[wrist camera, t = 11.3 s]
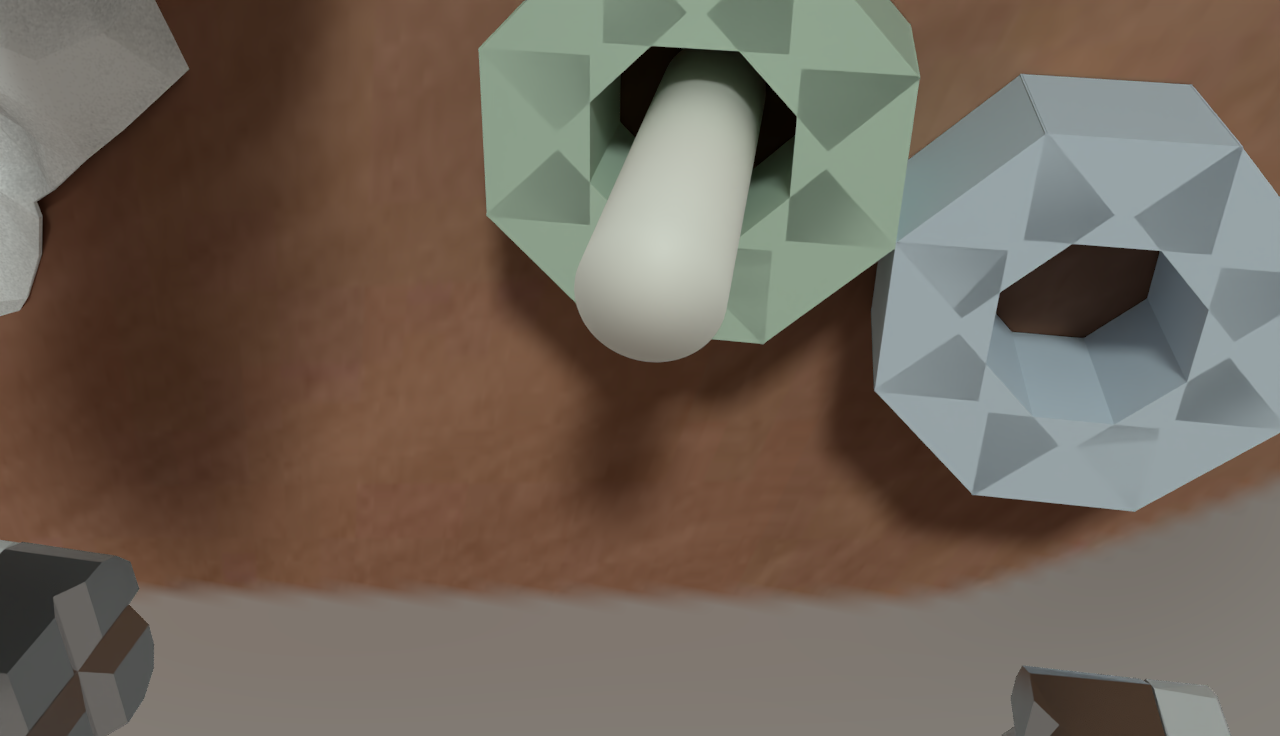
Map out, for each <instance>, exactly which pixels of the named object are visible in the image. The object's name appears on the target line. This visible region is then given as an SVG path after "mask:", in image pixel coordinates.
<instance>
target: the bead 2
mask: <svg viewBox="0 0 1280 736" xmlns="http://www.w3.org/2000/svg"><path fill="white" fill-rule="evenodd" d="M1072 244H1080V245H1092V246H1105V247H1118V248H1131V249H1143V250H1156V251H1160V252H1159V256H1158V260H1157V263H1156V267H1155V271H1154V275H1153V278H1152V282H1151V286H1150V289H1149V293H1148V297H1147V299H1145V300H1144V301H1142V302H1140V303H1139V304H1137V305H1136V306H1134V307H1132V308H1131V309H1129V310H1128V311H1126V312H1124V313H1123V314H1121V315H1120V316H1118V317H1117V318H1115V319H1113V320H1112V321H1110V322H1109V323H1107V324H1105V325H1104V326H1102V327H1101V328H1099V329H1097V330H1096V331H1094V332H1093V333H1091V334H1089V335H1088V336H1086V337H1085V338H1077V337H1065V336H1054V335H1042V334H1031V333H1020V332H1012V331H1011V330H1010V329H1009V328H1008V327H1007V326H1006V325H1005V323H1004V322H1003V321H1002V320H1001V319H1000V318H999V317H998V315H997V314H996V309H997V304H998V299H999V294H1000V292H1002V291H1003V290H1004V289H1006V288H1007V287H1009V286H1010V285H1012V284H1013V283H1015V282H1016V281H1018V280H1019V279H1021V278H1022V277H1024V276H1025V275H1027V274H1028V273H1030V272H1031V271H1033V270H1034V269H1036V268H1037V267H1039V266H1040V265H1042V264H1043V263H1045V262H1046V261H1048V260H1049V259H1051V258H1052V257H1054V256H1055V255H1057V254H1058V253H1060V252H1061V251H1063V250H1064V249H1066V248H1067V247H1069V246H1070V245H1072ZM871 327H872V353H873V378H874V391H875V392H876V393H877V394H878V395H879V396H880V397H881V398H882V399H883V400H884V401H885V402H886V403H887V404H888V405H889V406H890V407H891V409H892V410H893V411H894V412H895V413H896V414H897V415H898V416H899V417H900V418H901V419H902V420H903V421H904V422H905V423H906V424H907V425H908V427H909V428H910V429H911V430H912V431H913V432H914V433H915V434H916V435H917V436H918V437H919V438H920V439H921V440H922V441H923V442H924V444H925V445H926V446H927V447H928V448H929V449H930V450H931V451H932V452H933V453H934V454H935V455H936V456H937V457H938V458H939V459H940V460H941V462H942V463H943V464H944V465H945V466H946V467H947V468H948V469H949V470H950V471H951V472H952V473H953V474H954V475H955V476H956V477H957V479H958V480H959V481H960V482H961V483H962V484H963V485H964V486H965V487H966V488H967V489H968V490H969V491H970V492H971V494H972V495H980V496H990V497H999V498H1009V499H1019V500H1028V501H1038V502H1048V503H1057V504H1067V505H1077V506H1086V507H1096V508H1106V509H1115V510H1125V511H1133V512H1134V511H1135V512H1136V510H1138V509H1140V508H1142V507H1144V506H1146V505H1147V504H1149V503H1151V502H1153V501H1155V500H1157V499H1158V498H1160V497H1162V496H1164V495H1166V494H1168V493H1170V492H1171V491H1173V490H1175V489H1177V488H1179V487H1181V486H1182V485H1184V484H1186V483H1188V482H1190V481H1192V480H1193V479H1195V478H1197V477H1199V476H1201V475H1203V474H1205V473H1206V472H1208V471H1210V470H1212V469H1214V468H1216V467H1217V466H1219V465H1221V464H1223V463H1225V462H1227V461H1229V460H1230V459H1232V458H1234V457H1236V456H1238V455H1240V454H1241V453H1243V452H1245V451H1247V450H1249V449H1251V448H1253V447H1254V446H1256V445H1258V444H1260V443H1262V442H1264V441H1265V440H1267V439H1269V438H1271V437H1273V436H1275V435H1276V434H1278V433H1280V197H1279V196H1278V194H1277V193H1276V192H1275V190H1274V189H1273V188H1272V186H1271V185H1270V184H1269V182H1268V181H1267V180H1266V178H1265V177H1264V176H1263V174H1262V173H1261V172H1260V170H1259V169H1258V168H1257V166H1256V165H1255V164H1254V162H1253V161H1252V160H1251V158H1250V157H1249V156H1248V154H1247V153H1246V152H1245V150H1244V149H1243V146H1242V145H1241V144H1240V142H1239V141H1238V140H1237V139H1236V137H1235V136H1234V135H1233V134H1232V133H1231V131H1230V130H1229V129H1228V128H1227V127H1226V125H1225V124H1224V123H1223V122H1222V121H1221V119H1220V118H1219V117H1218V116H1217V114H1216V113H1215V112H1214V111H1213V110H1212V108H1211V107H1210V106H1209V105H1208V104H1207V102H1206V101H1205V100H1204V99H1203V98H1202V96H1201V95H1200V94H1199V93H1198V91H1197V90H1196V89H1195V88H1194V87H1193V85H1191V84H1189V85H1187V84H1171V83H1156V82H1140V81H1124V80H1108V79H1092V78H1076V77H1060V76H1044V75H1028V74H1020V75H1019V76H1018V77H1017V78H1015V79H1014V80H1013V81H1011V82H1010V83H1009V84H1008V85H1006V86H1005V87H1004V88H1002V89H1001V90H1000V91H998V92H997V93H996V94H994V95H993V96H992V97H990V98H989V99H988V100H986V101H985V102H984V103H983V104H981V105H980V106H979V107H977V108H976V109H975V110H973V111H972V112H971V113H969V114H968V115H967V116H965V117H964V118H963V119H961V120H960V121H959V122H958V123H956V124H955V125H954V126H952V127H951V128H950V129H948V130H947V131H946V132H944V133H943V134H942V135H940V136H939V137H938V138H936V139H935V140H934V141H933V142H931V143H930V144H929V145H927V146H926V147H925V148H923V149H922V150H921V151H919V152H918V153H917V154H915V155H914V156H913V157H912V158H910V159H909V160H908V162H907V169H906V176H905V183H904V190H903V197H902V204H901V211H900V218H899V225H898V232H897V239H896V246H895V249H893V250H892V251H891V252H889V253H888V254H887V255H885V256H884V257H882V258H881V259H880V260H878V265H877V272H876V279H875V287H874V294H873V301H872V308H871Z"/></svg>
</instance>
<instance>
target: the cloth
mask: <svg viewBox="0 0 1280 736" xmlns="http://www.w3.org/2000/svg"><path fill="white" fill-rule="evenodd" d="M188 70H189V67H188V65H187V63H186V61H185V59H184V57H183V55H182V53H181V51H180V49H179V47H178V45H177V43H176V41H175V39H174V37H173V35H172V33H171V31H170V29H169V27H168V25H167V23H166V21H165V19H164V17H163V15H162V13H161V11H160V9H159V7H158V5H157V3H156V1H155V0H0V316H2V315H5V314H9V313H12V312H16V311H19V310H20V309H21V308H22V306H23V304H24V303H25V301H26V300H27V298H28V297H29V294H30V290H31V287H32V284H33V281H34V278H35V275H36V272H37V269H38V265H39V262H40V259H41V256H42V220H43V216H42V213H41V211H40V208H39V206H38V203H37V201H39V200H40V199H42V198H43V197H45V196H46V195H48V194H49V193H51V192H52V191H54V190H56V189H57V188H58V187H59V186H60V185H61V184H62V183H63V182H64V181H65V180H66V179H67V178H68V177H69V176H70V175H71V174H72V173H73V172H74V171H76V170H77V169H78V168H79V167H80V166H81V165H82V164H83V163H84V162H85V161H86V160H87V159H88V158H90V157H91V156H92V155H93V154H95V153H96V152H97V151H98V150H100V149H101V148H102V147H103V146H105V145H106V144H107V143H108V142H109V141H111V140H112V139H113V138H114V137H116V136H117V135H118V134H119V133H121V132H122V131H123V130H124V129H125V128H126V127H128V126H129V125H130V124H131V123H132V122H133V121H134V120H135V119H136V118H137V117H138V116H139V115H140V114H142V113H143V112H144V111H145V110H146V109H147V108H148V107H149V106H150V105H151V104H152V103H153V102H155V101H156V100H157V99H158V98H159V97H160V96H161V95H162V94H163V93H164V92H165V91H166V90H168V89H169V88H170V87H171V86H172V85H173V84H174V83H175V82H176V81H177V80H178V79H179V78H180V77H181V76H183V75H184V74H185V73H186V72H187V71H188Z"/></svg>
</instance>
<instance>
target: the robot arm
mask: <svg viewBox="0 0 1280 736" xmlns="http://www.w3.org/2000/svg"><path fill="white" fill-rule="evenodd" d="M138 590H139V587H138V584H137V581H136V578H135V575H134V572H133V568H132V565H131V562H130V561H127V560H125V559H122V558H120V557H118V556H114V555H107V554H100V553H94V552H87V551H80V550H73V549H67V548H60V547H53V546H46V545H39V544H33V543H26V542H21V543H17V542H11V541H4V540H0V736H107V735H109V734H110V733H112V732H114V731H115V730H117V729H119V728H121V727H122V726H124V725H126V724H127V723H128V722H129V721H130V719H131V718H132V716H133V714H134V713H135V712H136V710H137V708H138V707H139V705H140V704H141V702H142V701H143V699H144V697H145V694H146V691H147V688H148V684H149V681H150V678H151V675H152V672H153V669H154V643H153V639H152V635H151V631H150V627H149V624H148V623H147V622H146V621H145V620H144V619H143V618H141V616H140V615H139V614H138V613H137V612H136V611H135V610H134V609H133V608H132V607H131V606H130V605H129V604H130V602H131V601H132V599H133V598H134V596H135V595H136V593H137V592H138ZM1011 704H1012V712H1013V719H1014V727H1012V728H1011V729H1010V730H1008V731H1007V732H1005V733H1004V734H1002V736H1231V734H1230V731H1229V728H1228V725H1227V722H1226V719H1225V716H1224V714H1223V711H1222V708H1221V705H1220V702H1219V699H1218V696H1217V695H1216V694H1215V693H1214V692H1213V691H1212V689H1211V688H1210V687H1209V686H1207V685H1197V684H1188V683H1179V682H1169V681H1159V680H1151V679H1145V680H1144V681H1143V680H1141V679H1137V678H1129V677H1120V676H1111V675H1102V674H1093V673H1084V672H1076V671H1067V670H1058V669H1048V668H1040V667H1030V666H1022V667H1021V669H1020V671H1019V672H1018V675H1017V676H1016V680H1015V684H1014V687H1013V691H1012V695H1011Z"/></svg>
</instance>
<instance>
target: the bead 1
mask: <svg viewBox="0 0 1280 736" xmlns="http://www.w3.org/2000/svg"><path fill="white" fill-rule="evenodd" d="M651 46H661V47H677V48H693V49H709V50H725V51H739V52H740V53H741V54H742V55H743V56H744V57H745V58H746V59H747V61H748V62H749V63H750V64H751V65H752V66H753V67H754V69H755V70H756V71H757V72H758V73H759V74H760V75H761V76H762V78H763V79H764V80H765V81H766V82H767V83H768V84H769V86H770V87H771V88H772V89H773V90H774V91H775V92H776V93H777V95H778V96H779V97H780V98H781V99H782V100H783V101H784V102H785V104H786V105H787V106H788V107H789V108H790V109H791V110H792V112H793V113H794V114H795V115H796V116H797V123H796V133H795V135H794V136H793V137H792V138H791V139H790V140H788V141H787V142H786V143H785V144H783V145H782V146H781V147H780V148H778V149H777V150H776V151H775V152H774V153H772V154H771V155H770V156H769V157H767V158H766V159H765V160H764V161H763V162H761V163H760V164H759V165H758V166H756V167H755V168H754V169H753V170H752V175H751V180H750V186H749V191H748V196H747V202H746V207H745V213H744V218H743V223H742V229H741V234H740V239H739V245H738V250H737V256H736V261H735V266H734V272H733V277H732V283H731V288H730V293H729V299H728V304H727V309H726V313H725V317H724V320H723V322H722V324H721V326H720V328H719V330H718V331H717V333H716V334H715V336H714V337H713V338H712V339H715V340H726V341H737V342H748V343H759V344H764V343H765V342H766V341H768V340H769V339H771V338H772V337H773V336H775V335H776V334H777V333H779V332H780V331H782V330H783V329H784V328H786V327H787V326H789V325H790V324H791V323H793V322H794V321H795V320H797V319H798V318H800V317H801V316H802V315H804V314H805V313H806V312H808V311H809V310H811V309H812V308H813V307H815V306H816V305H818V304H819V303H820V302H822V301H823V300H824V299H826V298H827V297H829V296H830V295H831V294H833V293H834V292H835V291H837V290H838V289H840V288H841V287H842V286H844V285H845V284H847V283H848V282H849V281H851V280H852V279H853V278H855V277H856V276H858V275H859V274H860V273H862V272H863V271H864V270H866V269H867V268H869V267H870V266H871V265H873V264H874V263H876V262H877V261H878V260H880V259H881V258H882V257H884V256H885V255H887V254H888V253H889V252H891V251H892V250H893V249H895V246H896V239H897V232H898V225H899V218H900V211H901V204H902V197H903V190H904V183H905V176H906V169H907V162H908V155H909V148H910V141H911V134H912V127H913V120H914V113H915V107H916V100H917V93H918V86H919V79H920V73H919V68H918V62H917V57H916V51H915V46H914V40H913V35H912V29H911V24H909V23H908V22H907V20H906V19H905V18H904V17H903V16H902V14H901V13H900V12H899V11H898V9H897V8H896V7H895V6H894V5H893V3H892V2H891V1H890V0H526V1H524V2H523V3H522V4H521V5H520V6H519V7H518V8H517V9H516V10H515V11H514V12H513V13H512V14H511V15H510V16H509V17H508V18H507V19H506V20H505V21H504V22H503V23H502V24H501V25H500V27H499V28H498V29H497V30H496V31H495V32H494V33H493V34H492V35H491V36H490V37H489V38H488V39H487V40H486V41H485V42H484V43H483V44H482V45H481V46H480V47H479V50H478V51H479V64H480V85H481V105H482V125H483V146H484V166H485V186H486V207H487V214H486V215H487V217H489V218H490V219H491V220H492V221H493V222H494V223H495V224H496V225H497V226H498V227H499V228H500V229H501V230H502V231H503V232H504V233H505V234H506V235H507V236H508V237H509V238H510V239H511V240H512V241H513V242H514V243H515V244H516V245H517V246H518V247H519V248H520V249H521V250H522V251H523V252H525V253H526V254H527V255H528V256H529V257H530V258H531V259H532V260H533V261H534V262H535V263H536V264H537V265H538V266H539V267H540V268H541V269H542V270H543V271H544V272H545V273H546V274H547V275H548V276H549V277H550V278H551V279H552V280H553V281H554V282H555V283H556V284H557V285H558V286H559V287H560V288H561V289H562V290H563V291H564V292H565V293H566V294H567V295H568V296H569V297H570V298H571V299H572V300H573V301H574V302H575V303H576V301H575V294H574V282H575V276H576V271H577V268H578V266H579V263H580V261H581V259H582V256H583V254H584V252H585V250H586V247H587V245H588V243H589V241H590V238H591V236H592V234H593V232H594V229H595V227H596V225H597V223H598V220H599V218H600V216H601V214H602V211H603V209H604V207H605V205H606V203H607V200H608V198H609V196H610V194H611V191H612V189H613V187H614V185H615V182H616V180H617V178H618V176H619V173H620V171H621V169H622V167H623V164H624V162H625V160H626V158H627V156H628V153H629V151H630V149H631V147H632V144H633V142H634V140H635V137H634V136H633V135H632V134H631V133H630V132H629V131H628V129H627V128H626V127H625V126H624V125H623V124H622V123H621V122H620V89H621V73H622V72H623V71H625V70H626V69H627V68H628V67H629V66H630V65H631V64H632V63H633V62H634V61H635V60H636V59H638V58H639V57H640V56H641V55H642V54H643V53H644V52H645V51H646V50H647V49H648V48H649V47H651Z"/></svg>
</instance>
